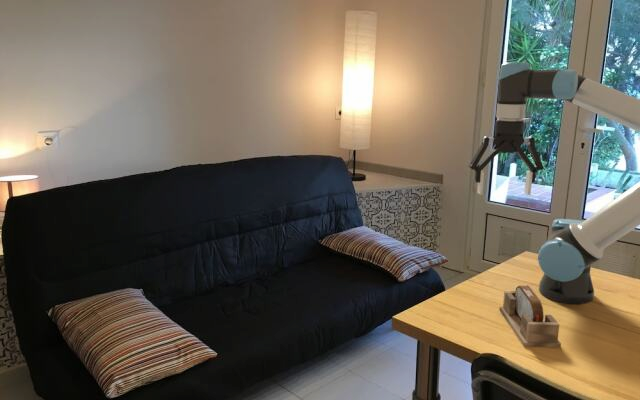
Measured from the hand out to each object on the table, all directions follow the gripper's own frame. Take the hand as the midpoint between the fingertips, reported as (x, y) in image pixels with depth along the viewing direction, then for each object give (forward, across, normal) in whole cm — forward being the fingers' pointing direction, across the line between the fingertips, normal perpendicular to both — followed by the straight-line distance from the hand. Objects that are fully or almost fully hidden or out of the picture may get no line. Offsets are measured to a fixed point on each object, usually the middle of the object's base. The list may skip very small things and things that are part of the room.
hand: (503, 193), depth 149 cm
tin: (+31, -2, +19) cm, 36 cm away
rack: (+32, -3, +20) cm, 38 cm away
